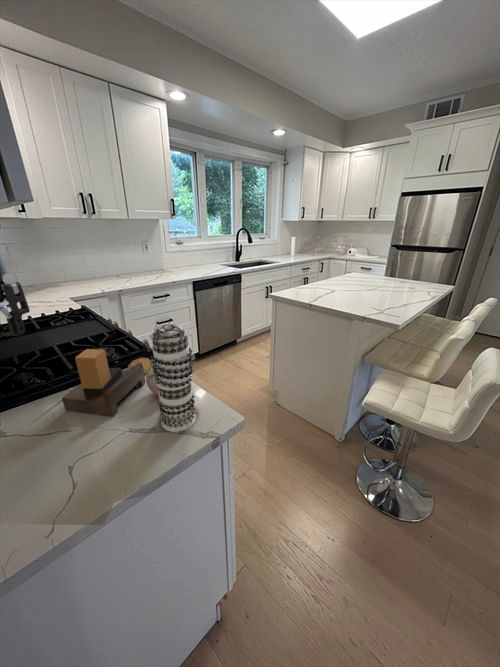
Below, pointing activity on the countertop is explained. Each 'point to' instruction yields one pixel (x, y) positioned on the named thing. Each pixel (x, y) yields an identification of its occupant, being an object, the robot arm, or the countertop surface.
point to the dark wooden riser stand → (105, 394)
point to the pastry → (144, 361)
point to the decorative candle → (173, 377)
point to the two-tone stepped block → (96, 371)
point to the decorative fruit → (152, 382)
